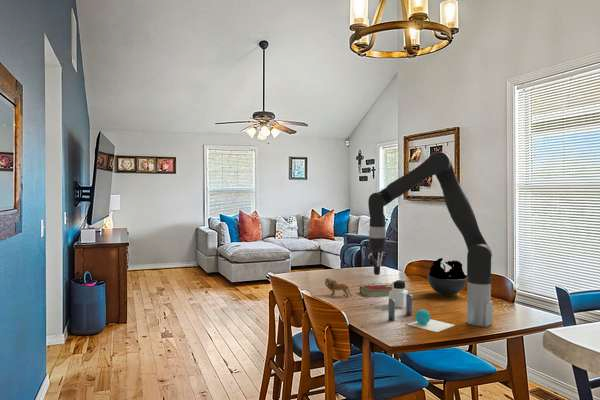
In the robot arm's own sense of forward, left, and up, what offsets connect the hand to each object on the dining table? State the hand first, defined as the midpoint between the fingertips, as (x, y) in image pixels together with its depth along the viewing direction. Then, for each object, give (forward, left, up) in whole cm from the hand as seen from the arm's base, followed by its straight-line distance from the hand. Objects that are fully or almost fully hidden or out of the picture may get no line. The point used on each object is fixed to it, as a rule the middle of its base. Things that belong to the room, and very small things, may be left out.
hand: (376, 274), depth 212 cm
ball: (-25, +1, -14) cm, 29 cm away
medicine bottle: (0, -17, -17) cm, 24 cm away
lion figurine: (+33, -10, -17) cm, 39 cm away
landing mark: (-28, 0, -17) cm, 33 cm away
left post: (-13, +6, -17) cm, 22 cm away
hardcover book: (+21, -33, -18) cm, 43 cm away
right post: (-13, -7, -17) cm, 22 cm away
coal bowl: (-4, -55, -17) cm, 58 cm away
